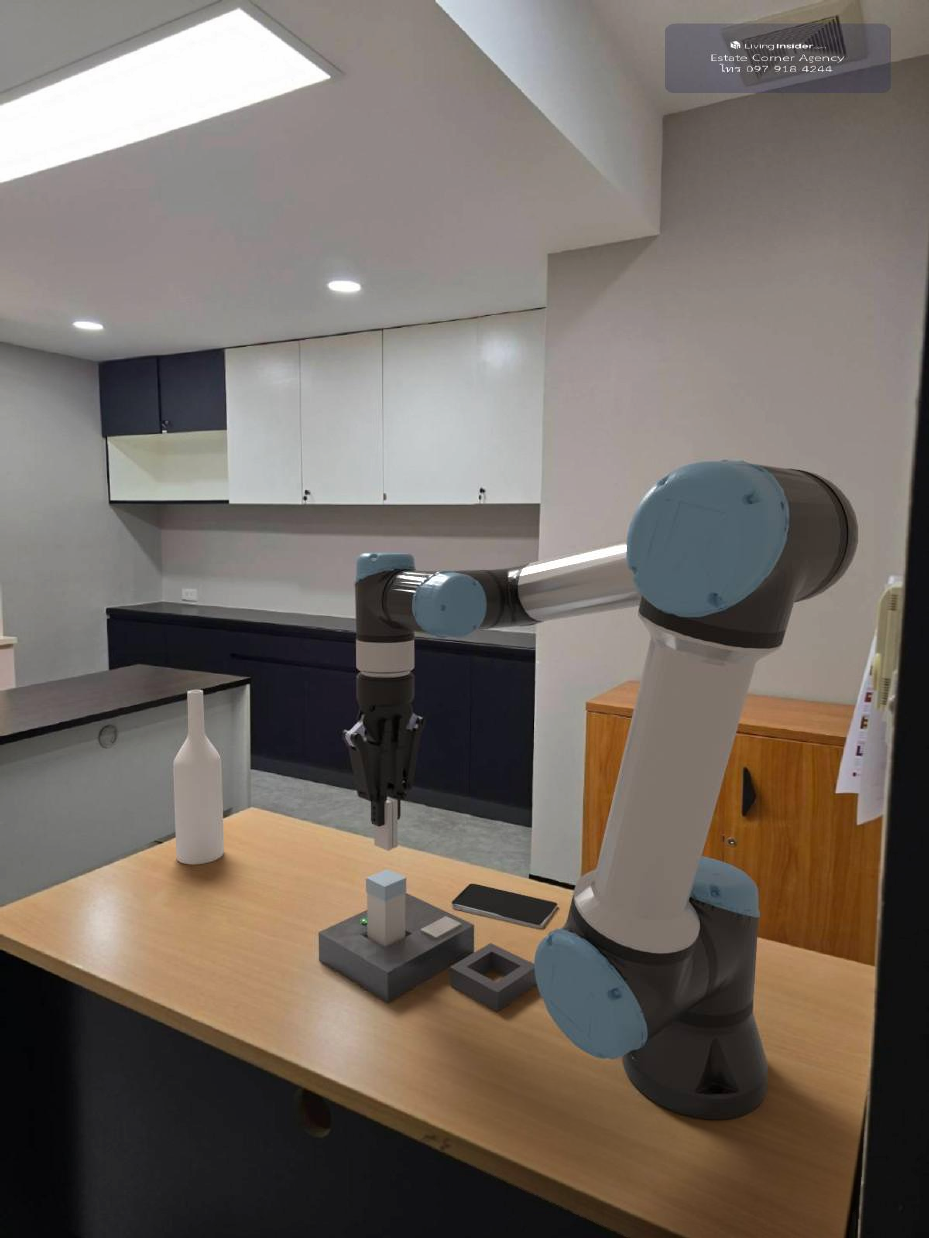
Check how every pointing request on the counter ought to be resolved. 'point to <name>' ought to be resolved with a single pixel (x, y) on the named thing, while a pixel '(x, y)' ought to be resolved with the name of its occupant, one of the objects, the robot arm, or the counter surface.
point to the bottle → (198, 792)
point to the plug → (386, 907)
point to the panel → (397, 949)
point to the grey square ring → (487, 991)
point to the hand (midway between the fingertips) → (385, 845)
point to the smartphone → (504, 905)
